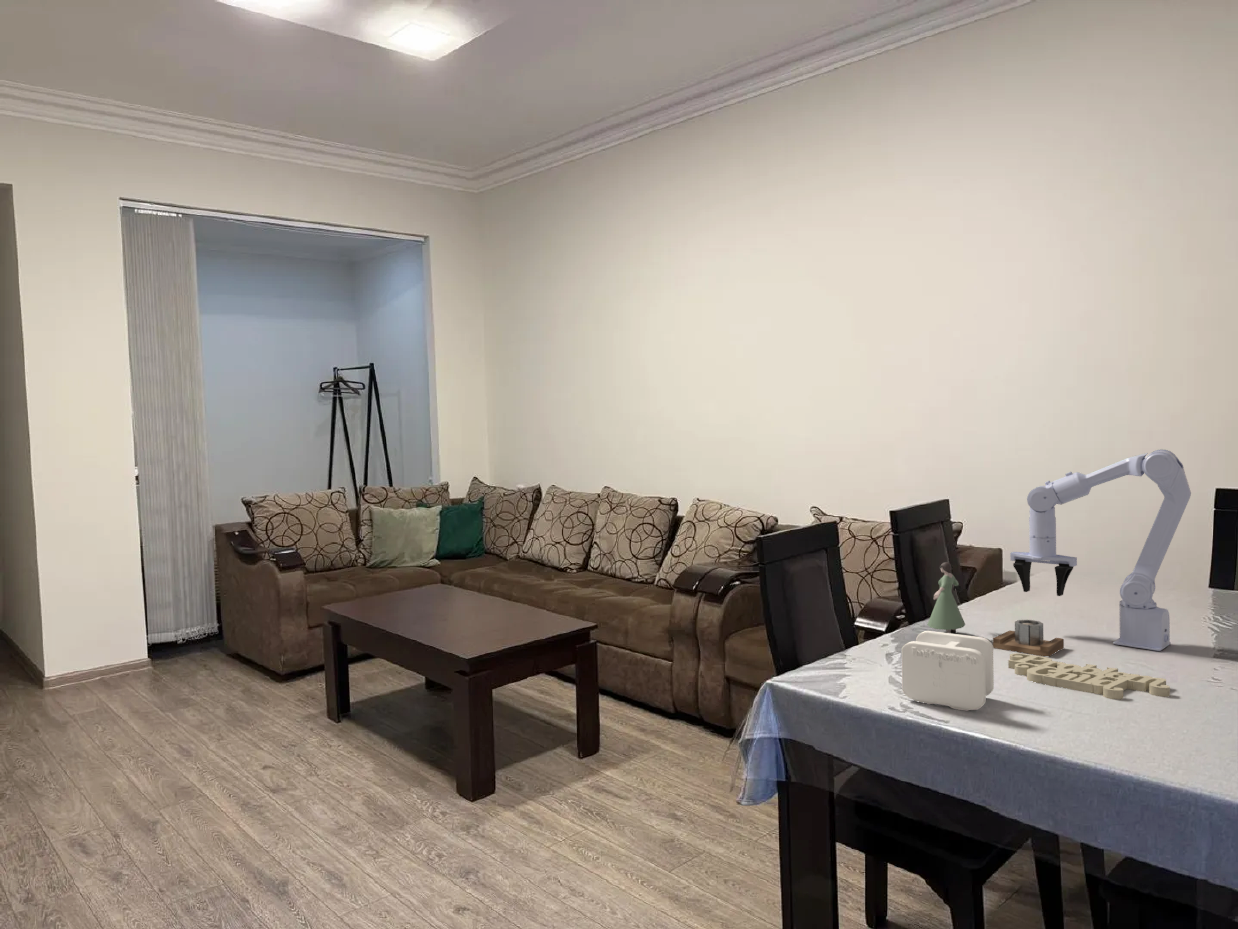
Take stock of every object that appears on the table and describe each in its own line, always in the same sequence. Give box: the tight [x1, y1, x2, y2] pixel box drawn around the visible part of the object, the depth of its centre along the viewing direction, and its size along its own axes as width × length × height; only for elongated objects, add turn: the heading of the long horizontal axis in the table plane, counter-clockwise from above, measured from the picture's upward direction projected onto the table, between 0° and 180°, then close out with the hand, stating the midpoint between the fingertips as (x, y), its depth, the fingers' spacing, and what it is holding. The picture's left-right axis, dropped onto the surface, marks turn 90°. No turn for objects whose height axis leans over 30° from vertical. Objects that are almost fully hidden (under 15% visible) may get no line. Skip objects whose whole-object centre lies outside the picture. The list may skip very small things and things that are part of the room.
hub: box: [1014, 619, 1044, 646], centre depth 197 cm, size 6×6×4 cm
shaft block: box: [992, 623, 1065, 657], centre depth 197 cm, size 12×9×6 cm
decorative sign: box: [1007, 652, 1171, 700], centre depth 173 cm, size 31×2×15 cm
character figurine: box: [927, 561, 966, 634], centre depth 210 cm, size 16×8×18 cm, turn 136°
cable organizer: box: [900, 630, 995, 712], centre depth 164 cm, size 15×11×12 cm
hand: (1043, 593), depth 207 cm, fingers open, 7 cm apart
